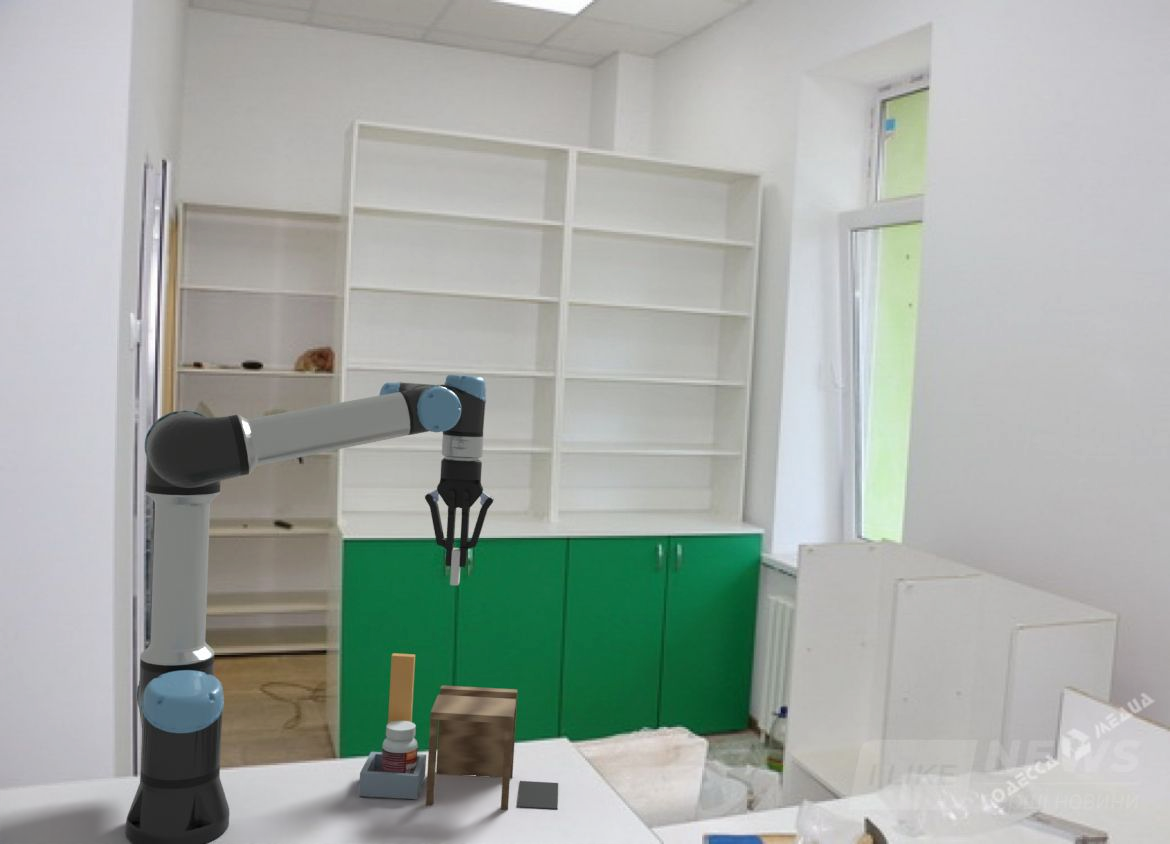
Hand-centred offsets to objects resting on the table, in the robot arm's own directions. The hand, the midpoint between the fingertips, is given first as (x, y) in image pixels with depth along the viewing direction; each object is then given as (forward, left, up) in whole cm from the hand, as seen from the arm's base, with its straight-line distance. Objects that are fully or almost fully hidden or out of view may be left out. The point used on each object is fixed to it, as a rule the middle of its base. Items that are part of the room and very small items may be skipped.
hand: (454, 583), depth 193 cm
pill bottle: (-7, -12, -35) cm, 37 cm away
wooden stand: (+6, -12, -34) cm, 37 cm away
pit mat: (+18, -12, -34) cm, 41 cm away
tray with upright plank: (-8, -12, -34) cm, 37 cm away
